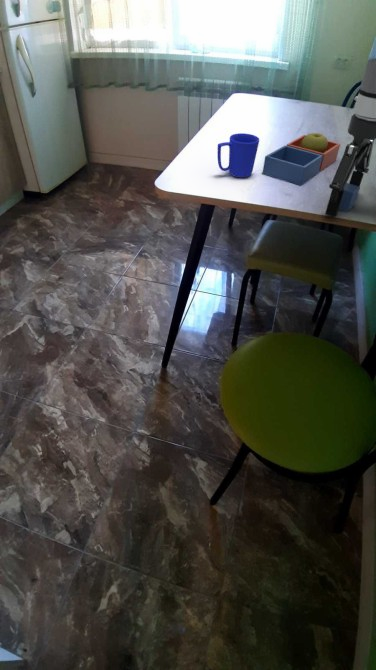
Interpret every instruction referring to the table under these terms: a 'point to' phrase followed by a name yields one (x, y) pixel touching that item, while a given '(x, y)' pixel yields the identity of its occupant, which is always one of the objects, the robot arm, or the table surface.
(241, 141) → the mug
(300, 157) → the blue bin
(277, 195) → the table surface
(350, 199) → the block
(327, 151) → the red bin
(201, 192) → the table surface
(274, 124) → the table surface
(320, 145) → the apple
